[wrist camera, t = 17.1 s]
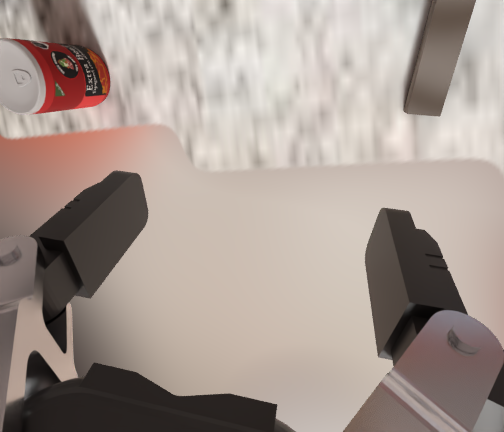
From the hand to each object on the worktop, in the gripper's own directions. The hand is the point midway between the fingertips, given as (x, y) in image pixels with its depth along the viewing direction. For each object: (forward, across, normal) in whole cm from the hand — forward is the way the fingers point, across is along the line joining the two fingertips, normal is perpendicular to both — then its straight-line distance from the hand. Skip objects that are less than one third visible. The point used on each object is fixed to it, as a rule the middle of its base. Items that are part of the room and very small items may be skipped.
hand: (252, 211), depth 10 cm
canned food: (+32, +29, +5) cm, 44 cm away
